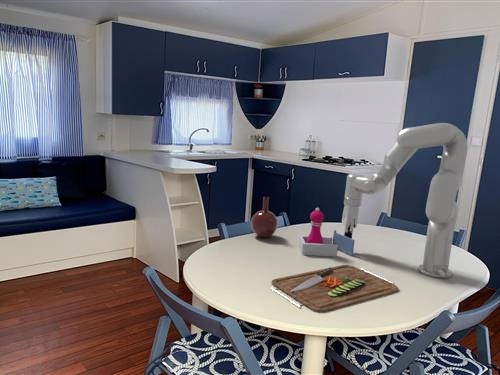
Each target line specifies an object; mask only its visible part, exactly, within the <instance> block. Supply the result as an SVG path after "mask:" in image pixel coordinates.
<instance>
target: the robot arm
mask: <svg viewBox="0 0 500 375" xmlns="http://www.w3.org/2000/svg"><path fill="white" fill-rule="evenodd" d="M441 146H442V147H443V150H442V155H441V160H440V164H439V165H440V166H439V170H438V172H437V173H436V174H434V175H433V176H432V179H431V181H430V186H429V189H428V196H427V198H426V199H427V200H426V205H425V215H426V217H427V219H428V223H427V224H428V225H427V231H426V236H425V237H426V238H425V246H424V253H423V260H422V264H419V265H418V267H417V270H418V271H419V272H420V273H422V274H424V275H426V276H429V277H433V278H441V279H447V278H451V277H452V275H453V273H452V271H451V269H449V265H450V260H451V259H450V258H451V252H452V247H453V238H454V234H455V233H454V232H455V226H456V220H457V217H458V210H459V208H458V203H457V202H456V199H457V194H458V191H459V190H460V189H461V187H462V184H463V176H464V172H465V166H466V162H467V161H466V160H467V156H468V140H467V138H466V135H465V134H464V132H463V131H462V130H461V129H459V128H458V127H457V126H456V125H453V124H451V123H447V122H438V123H431V124H426V125H418V126H411V127H405V128H403V129H402V130H400V132H398V134H397V136H396V141H395V143H394V144H393V145H392V146H391V147H390V148H389V150H387V152H386V153H385V154H384V160H383V163H382V164H381V166H380V167H379V168H378V170H377V171H376V172H375V173H374V174H373V175H371V176H366V177H365V176H364V175H363V174H359V173H349V174H347V176H346V182H345V183H346V184H345V191H344V198H343V204H344V207H343V211H342V216H341V217H342V218H341V223H342V225H343V227H344V233H343V235H344V236H346V237H348V238H351V239H353V234H354V229H357V227H358V219H359V211H360V210H359V207H362V201H363V194H366V195H368V196H369V195H370V196H373V195H375V194H377V193H379V192H382V191H383V190H384V189H385V188H386V187H387V186H388V185H389V184H390V183H391V182H392V181H393V179H394V178H395V177H396V176H397V174H398V173H399V172H400V171H401V169H402V168H403V166H404V165H405V164H406V163H407V162H408V160H410V159H411V158H412V156H414V154H416V153H417V151H418V150H419V149H425V148H433V147H441Z"/></svg>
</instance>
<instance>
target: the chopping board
mask: <svg viewBox="0 0 500 375" xmlns="http://www.w3.org/2000/svg"><path fill="white" fill-rule="evenodd" d="M271 285H272V286H273V287H274V288H273V287H270V290H271V291H272V292H274V293H276V294H277V295H278V296H280V297H282V298H283V299H285V300H286V301H288V302H289V303H291V304H292V305H294V306H295V307H297V308H298V309H301V308H302V307H303V306H304V307H305V308H307V309H308V310H310V311H312V312H315V313H326V312H330V311H333V310H337V309H341V308H344V307H348V306H352V305H356V304H358V303H359V304H360V303H364V302H366V301H369V300H374V299H377V298H380V297H384V296H385V297H386V296H388V295H392V294H395V293H398V292H399V287H398V286H397V285H395V283H394V282H393V281H391V280H389V279H387V278H384V277H382V276H380V275H377V274H375V273H373V272H371V271H368V270H366V269H364V268H362V267H361V268H358V267H356V266H353V265H351V264H350V265H349V264H342V265H338V266H337V265H336V266H331V267H327V268H322V269H318V270H316V269H315V270H312V271H308V272H307V271H306V272H301V273H297V274H291V275H289V276H282V277H278V278H274V279H272V280H271ZM278 290H279V291H280V292H279V291H278ZM281 292H282V293H281ZM283 293H284V294H285V295H287V296H288V297H287V296H285V295H284V294H283ZM289 297H290V298H289ZM293 300H294V301H293ZM295 301H296V302H298V303H299V304H298V303H296V302H295Z"/></svg>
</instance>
